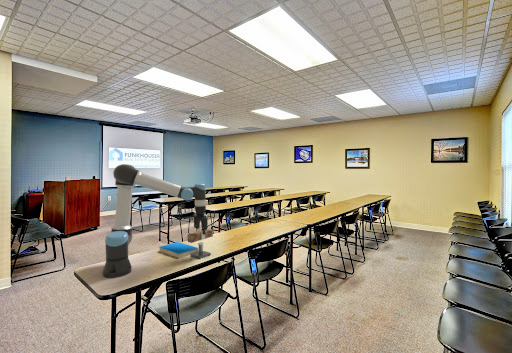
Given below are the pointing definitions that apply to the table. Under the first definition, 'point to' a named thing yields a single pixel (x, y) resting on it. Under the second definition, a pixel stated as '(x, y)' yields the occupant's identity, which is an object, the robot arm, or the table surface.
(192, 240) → the walnut beam
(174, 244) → the book
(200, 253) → the grey post on base
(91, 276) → the table surface
